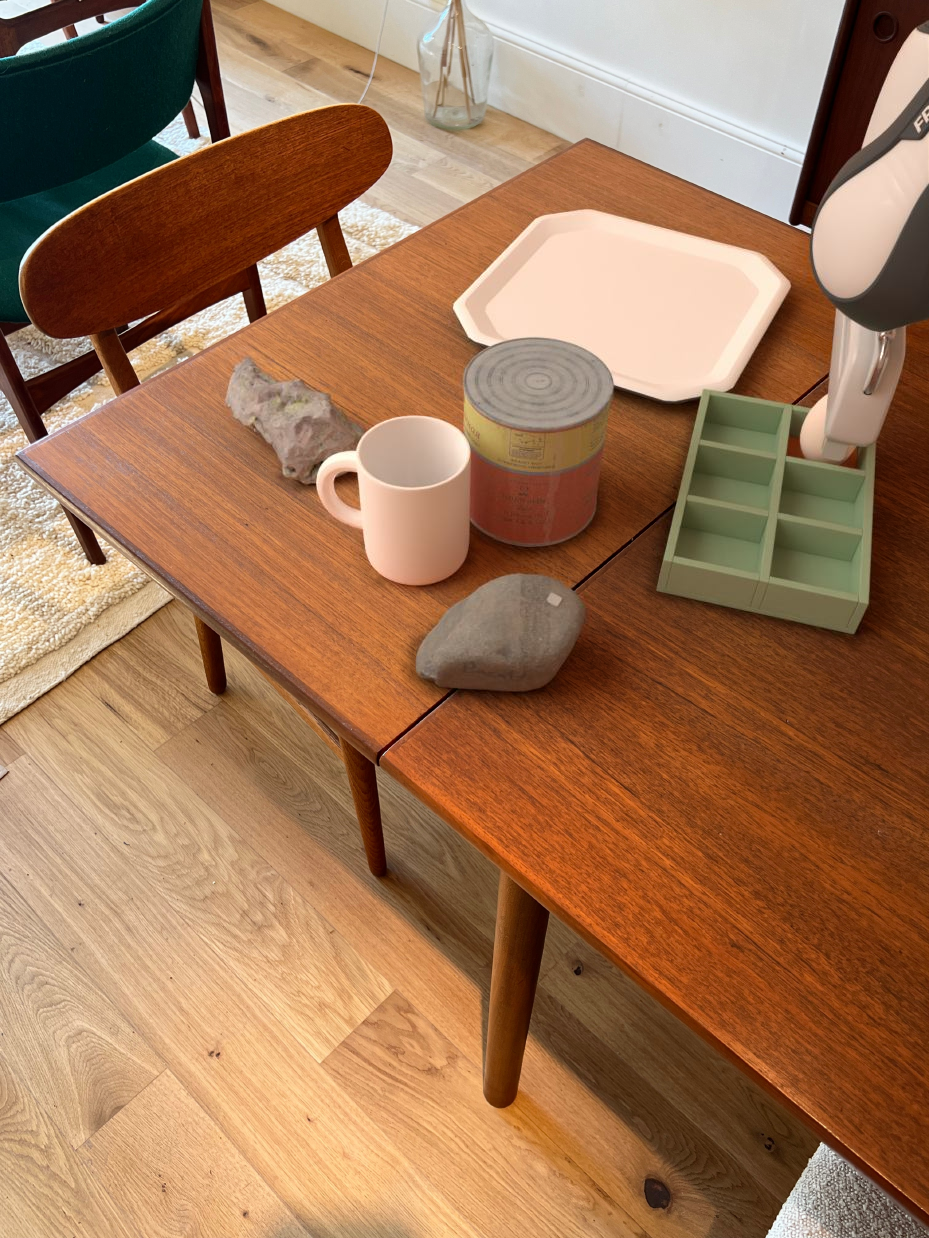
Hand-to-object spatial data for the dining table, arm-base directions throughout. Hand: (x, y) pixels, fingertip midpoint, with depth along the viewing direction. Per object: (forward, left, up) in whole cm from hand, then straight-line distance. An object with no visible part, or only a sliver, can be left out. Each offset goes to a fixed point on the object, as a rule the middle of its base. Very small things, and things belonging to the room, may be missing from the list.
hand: (834, 418), depth 82 cm
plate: (+8, -27, -6) cm, 29 cm away
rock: (+43, -13, -6) cm, 46 cm away
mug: (+37, +1, -6) cm, 38 cm away
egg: (0, 0, -5) cm, 5 cm away
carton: (+7, +4, -6) cm, 10 cm away
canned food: (+25, -2, -6) cm, 26 cm away
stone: (+32, +14, -6) cm, 36 cm away
